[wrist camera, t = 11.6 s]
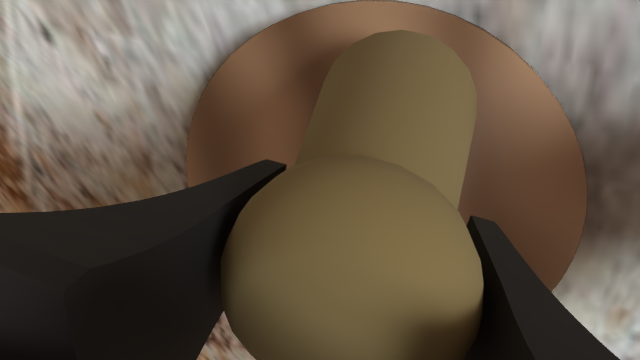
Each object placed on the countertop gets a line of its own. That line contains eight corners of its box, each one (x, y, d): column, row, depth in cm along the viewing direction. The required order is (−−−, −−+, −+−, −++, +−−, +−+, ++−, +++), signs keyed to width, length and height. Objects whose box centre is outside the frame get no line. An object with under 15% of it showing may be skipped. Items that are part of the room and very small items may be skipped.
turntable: (511, -100, 15) (536, -125, 11) (616, 311, 21) (659, 399, 17) (137, 98, 23) (67, 128, 19) (293, 350, 30) (267, 415, 25)
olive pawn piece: (433, 196, 18) (418, 486, 9) (303, 144, 18) (157, 370, 9) (511, 66, 14) (623, 324, 5) (348, 4, 14) (183, 142, 5)
